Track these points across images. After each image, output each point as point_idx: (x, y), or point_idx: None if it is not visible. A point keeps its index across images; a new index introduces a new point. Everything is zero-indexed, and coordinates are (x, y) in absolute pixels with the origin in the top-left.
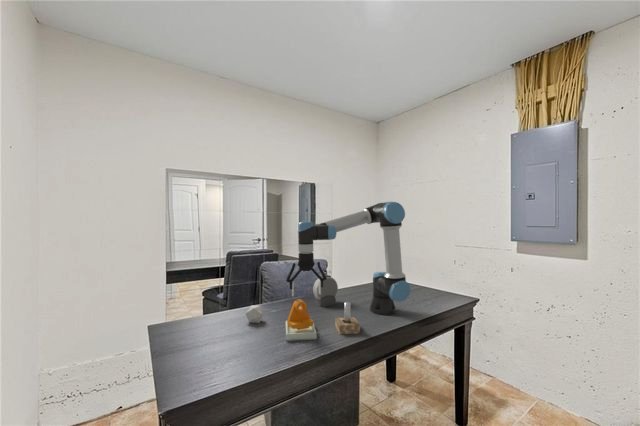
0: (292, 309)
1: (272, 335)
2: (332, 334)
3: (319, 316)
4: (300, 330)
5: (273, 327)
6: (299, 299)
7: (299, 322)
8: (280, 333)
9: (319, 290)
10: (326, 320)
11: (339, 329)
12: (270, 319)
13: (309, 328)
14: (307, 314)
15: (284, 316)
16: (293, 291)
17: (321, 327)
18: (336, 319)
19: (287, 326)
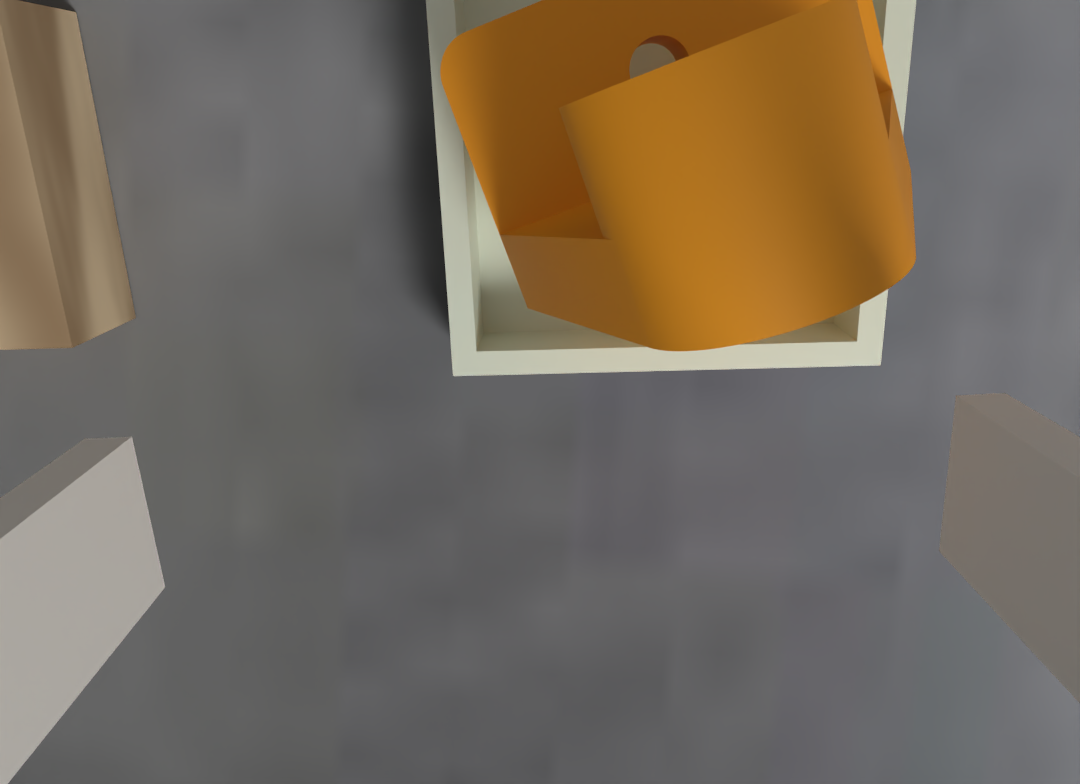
0: (897, 153)
1: (1075, 36)
2: (181, 9)
3: (349, 651)
4: None
5: (1023, 328)
6: (770, 284)
7: (702, 11)
8: (948, 103)
9: (64, 506)
10: (257, 513)
11: (38, 13)
12: None
13: None
14: (537, 229)
15: (826, 685)
16: (1060, 453)
17: (335, 278)
18: (53, 280)
19: None
